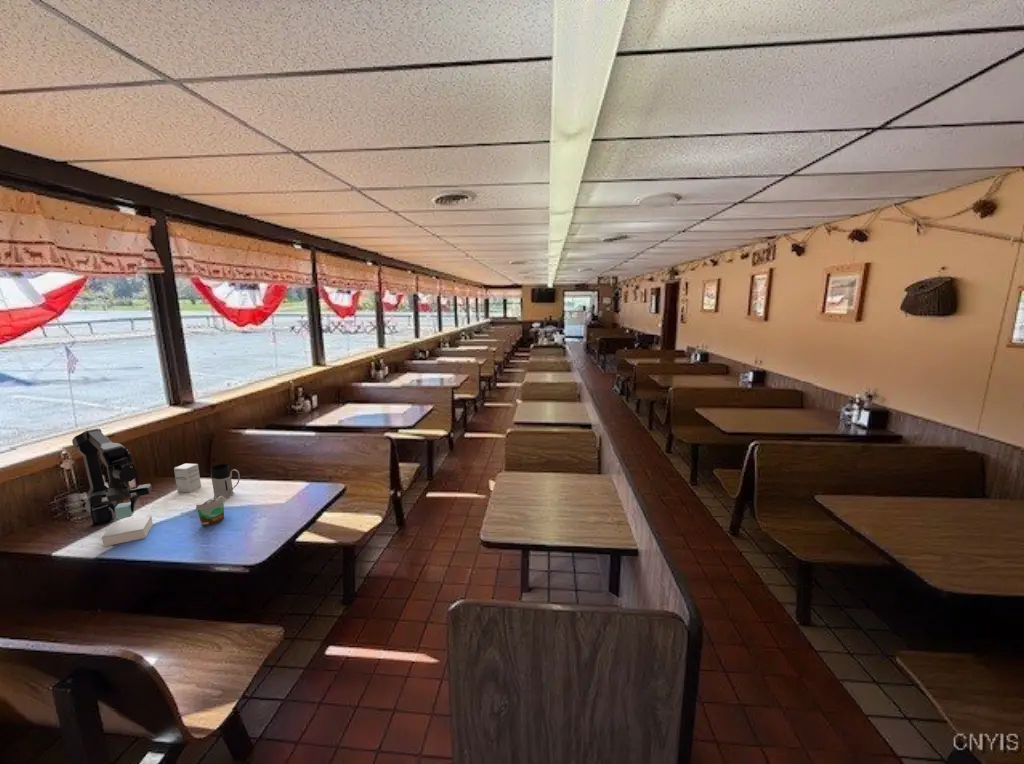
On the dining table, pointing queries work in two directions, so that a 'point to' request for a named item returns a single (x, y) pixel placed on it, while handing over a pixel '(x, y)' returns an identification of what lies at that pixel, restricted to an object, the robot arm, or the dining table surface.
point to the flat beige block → (127, 530)
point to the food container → (211, 511)
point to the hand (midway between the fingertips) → (125, 513)
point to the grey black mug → (222, 480)
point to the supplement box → (187, 477)
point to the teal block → (123, 510)
